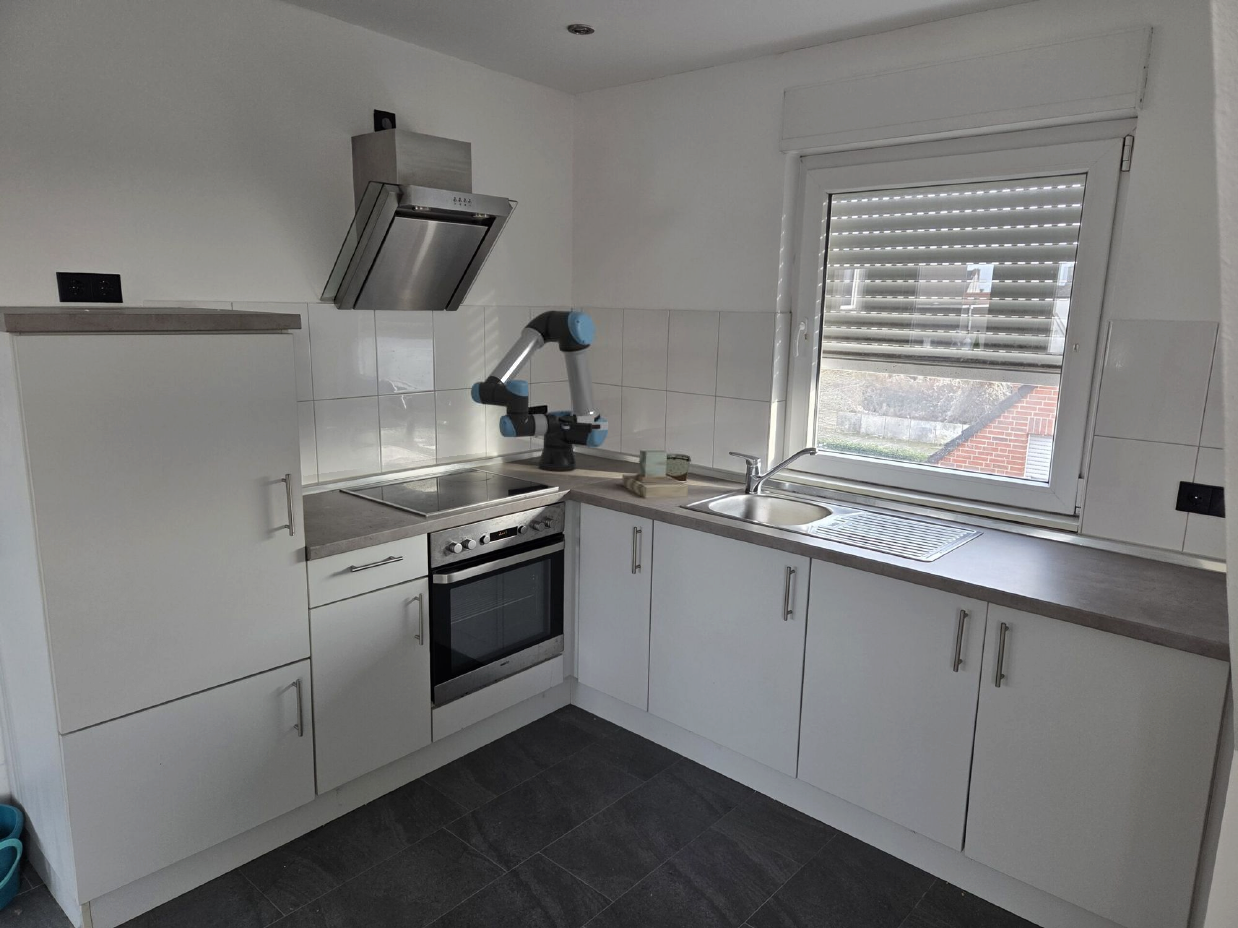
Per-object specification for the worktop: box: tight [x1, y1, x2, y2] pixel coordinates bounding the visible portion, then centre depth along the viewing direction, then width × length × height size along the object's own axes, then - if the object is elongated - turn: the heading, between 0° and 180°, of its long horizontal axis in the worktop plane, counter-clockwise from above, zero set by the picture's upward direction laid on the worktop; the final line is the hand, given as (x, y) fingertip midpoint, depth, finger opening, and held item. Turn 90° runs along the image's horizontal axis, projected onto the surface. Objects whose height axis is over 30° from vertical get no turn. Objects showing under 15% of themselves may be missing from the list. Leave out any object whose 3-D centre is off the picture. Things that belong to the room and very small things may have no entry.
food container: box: [666, 452, 692, 482], centre depth 315 cm, size 12×6×10 cm, turn 84°
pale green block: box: [635, 448, 668, 482], centre depth 293 cm, size 6×10×10 cm, turn 112°
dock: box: [621, 473, 689, 499], centre depth 295 cm, size 22×16×4 cm
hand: (600, 422), depth 292 cm, fingers open, 13 cm apart
